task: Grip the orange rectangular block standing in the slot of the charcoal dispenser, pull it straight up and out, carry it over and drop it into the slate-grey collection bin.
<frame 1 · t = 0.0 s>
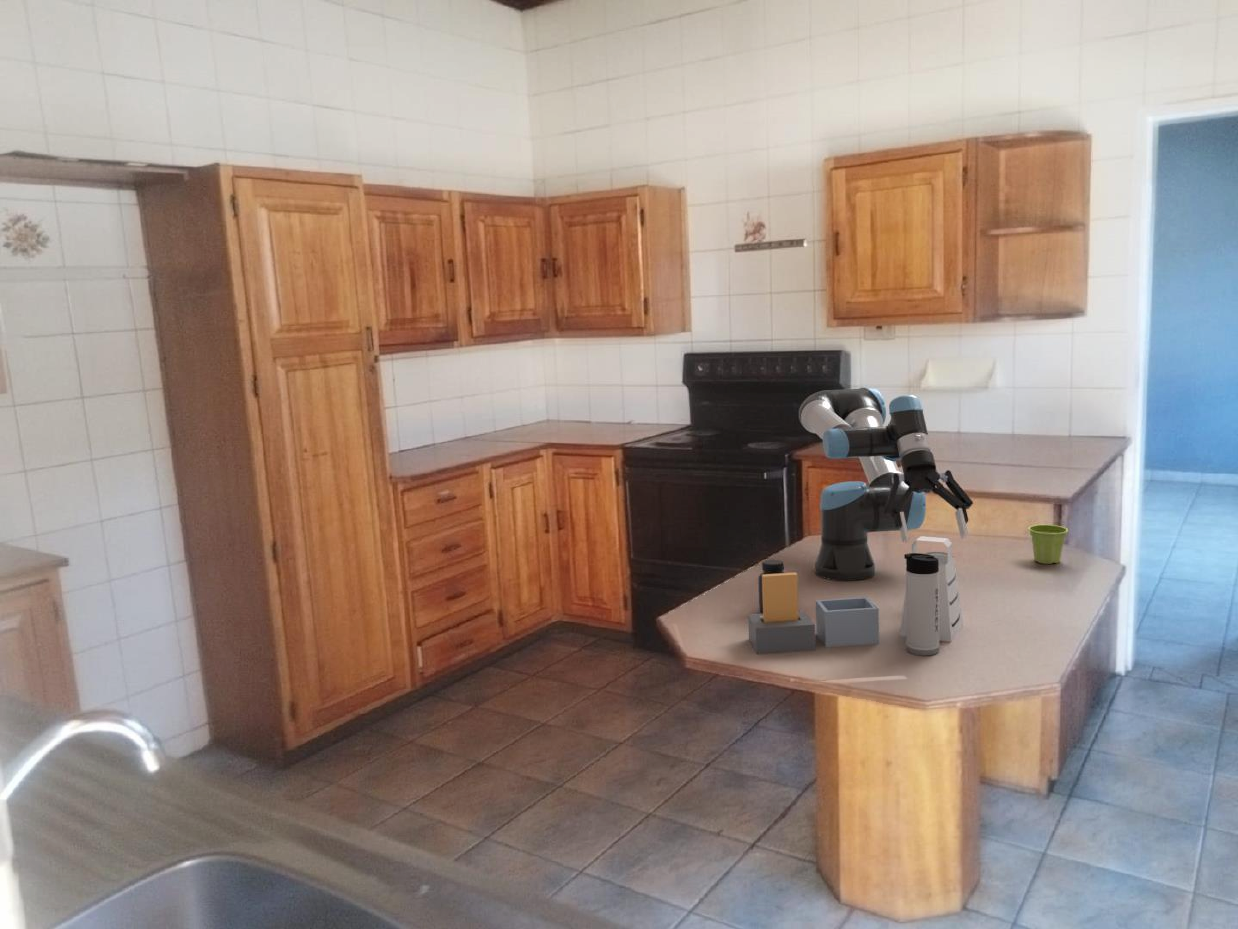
hand: (935, 538, 223), 15 cm above the table, tool tilted 35°, fingers open, 13 cm apart
plant pot: (1047, 562, 254), on the table
orange rectangular block: (781, 644, 202), point 1 cm above the table, touching dispenser
soda can: (937, 606, 223), on the table
travel mug: (921, 651, 196), on the table
grater: (931, 631, 207), on the table
dispenser: (781, 647, 202), on the table
bin: (847, 641, 203), on the table
supplement bottle: (774, 613, 225), on the table
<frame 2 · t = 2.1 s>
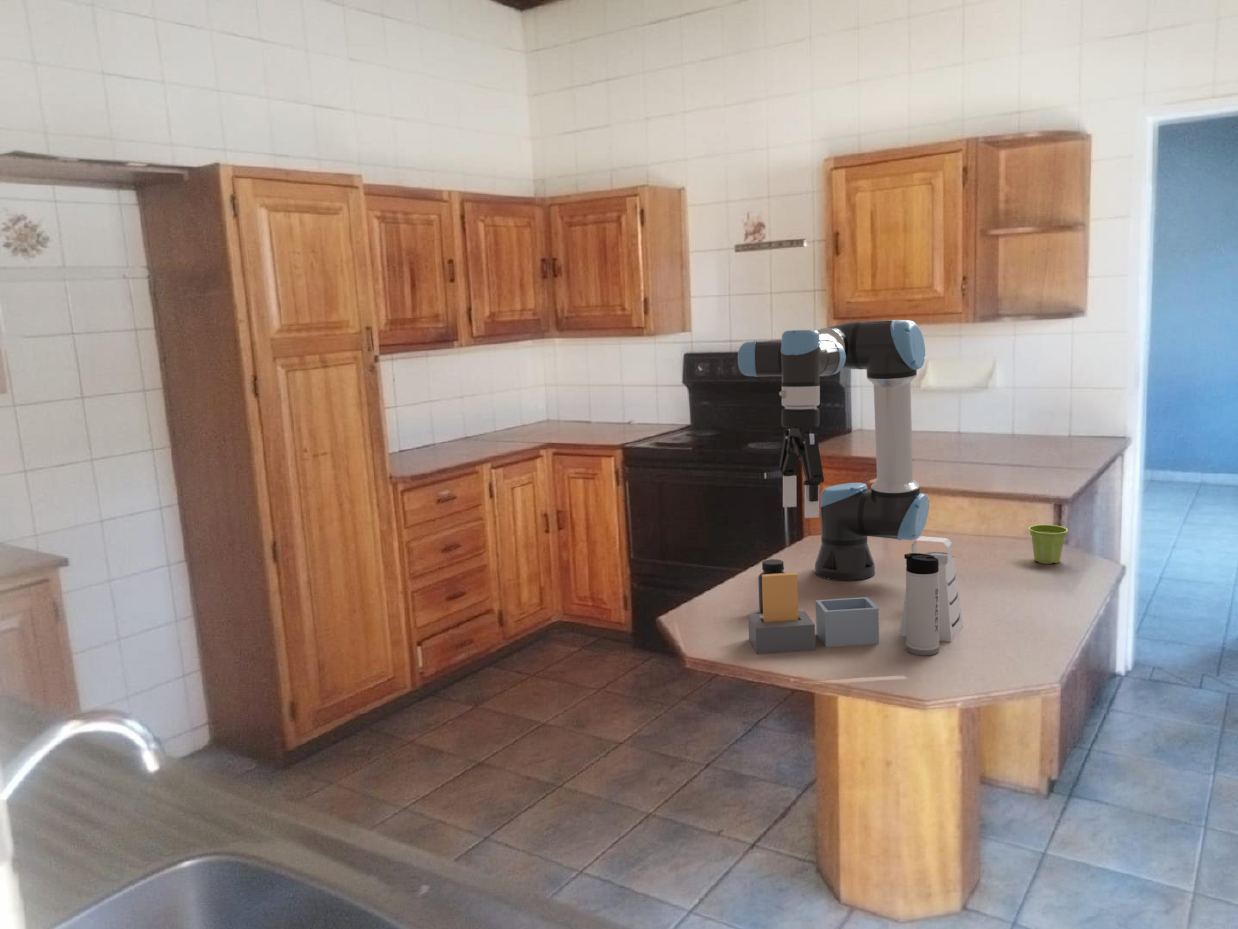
hand: (800, 512, 198), 28 cm above the table, tool pointing down, fingers open, 13 cm apart
nothing on the table moved.
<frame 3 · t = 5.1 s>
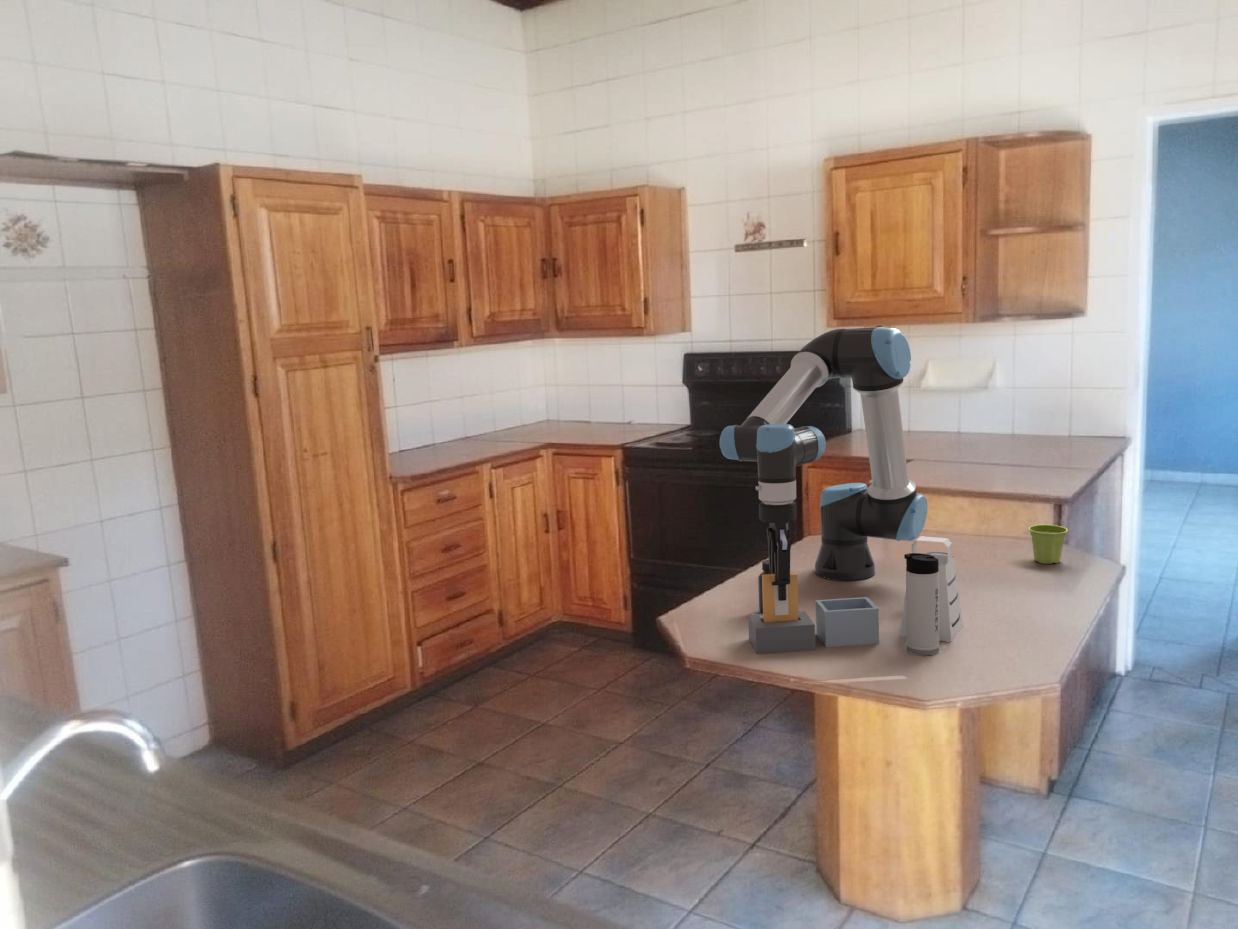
hand: (780, 612, 201), 7 cm above the table, tool pointing down, fingers closed on orange rectangular block, 1 cm apart
orange rectangular block: (781, 644, 202), point 1 cm above the table, touching dispenser, gripper
everything else where it was.
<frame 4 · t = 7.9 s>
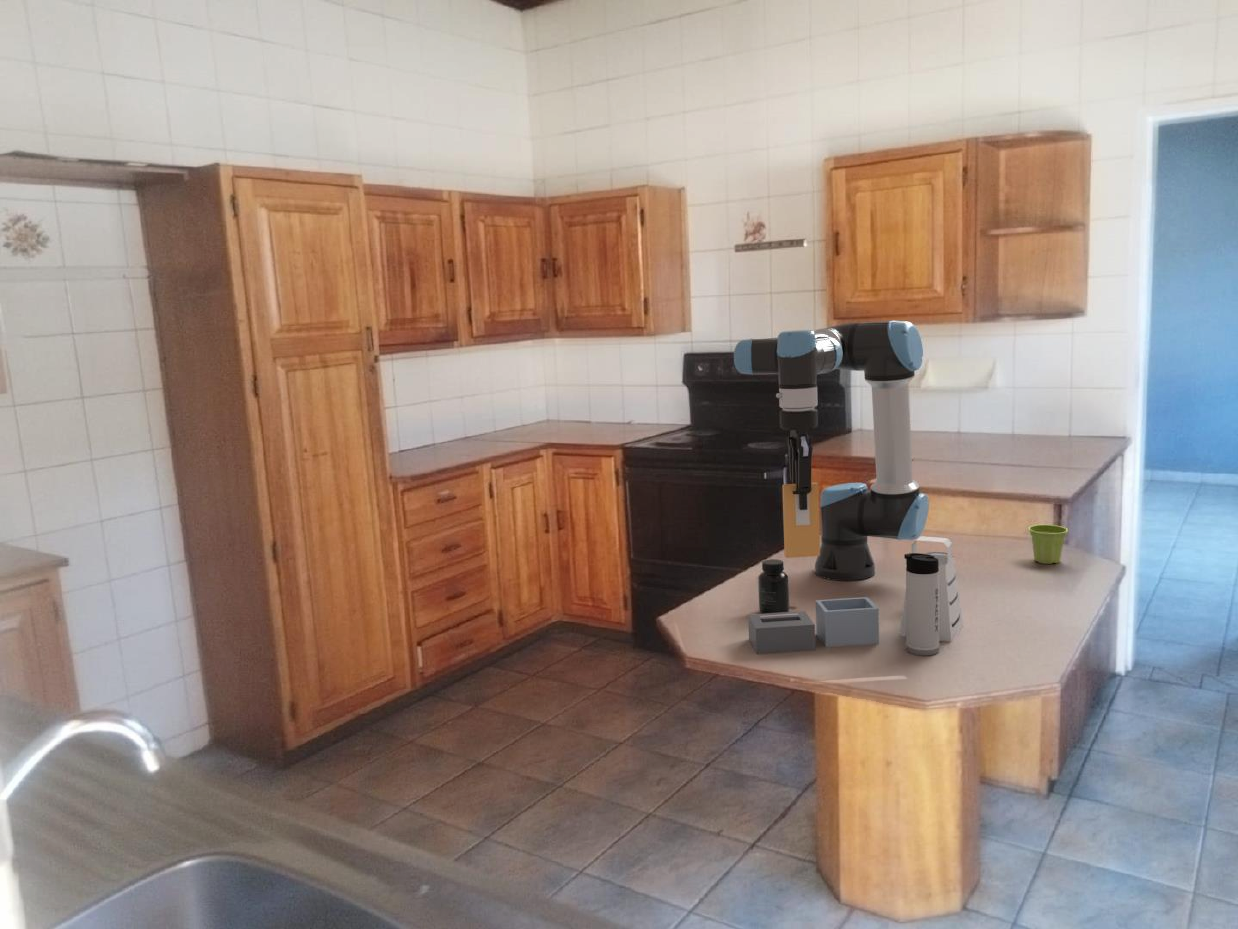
hand: (801, 523, 198), 26 cm above the table, tool pointing down, fingers closed on orange rectangular block, 1 cm apart
orange rectangular block: (802, 555, 200), point 19 cm above the table, touching gripper
everything else where it was.
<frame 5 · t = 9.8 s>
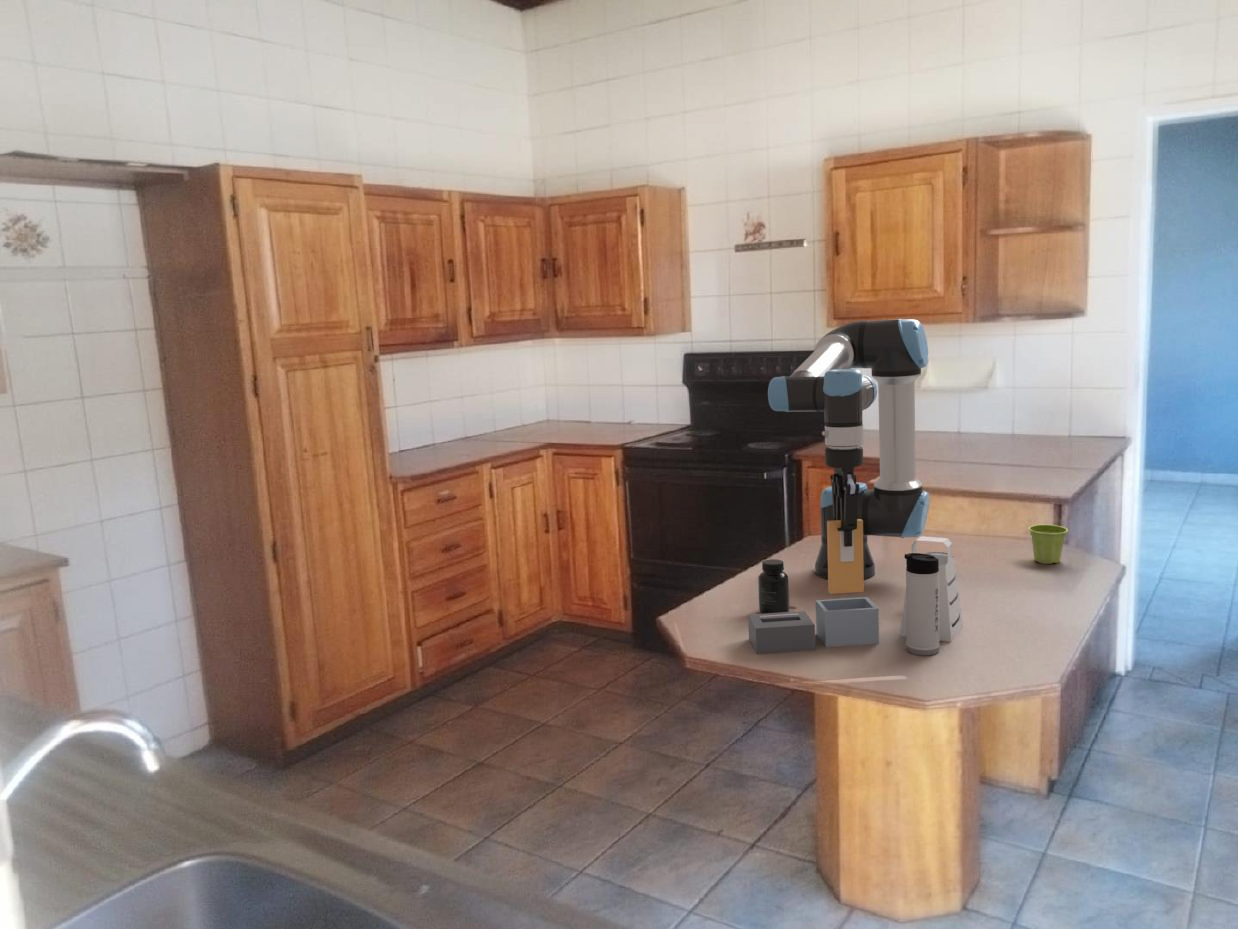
hand: (845, 559, 200), 18 cm above the table, tool pointing down, fingers closed on orange rectangular block, 1 cm apart
orange rectangular block: (846, 591, 201), point 11 cm above the table, touching gripper
everything else where it was.
when the fingers open (10 cm above the table, at t = 11.1 s): orange rectangular block drops 3 cm, resting on bin.
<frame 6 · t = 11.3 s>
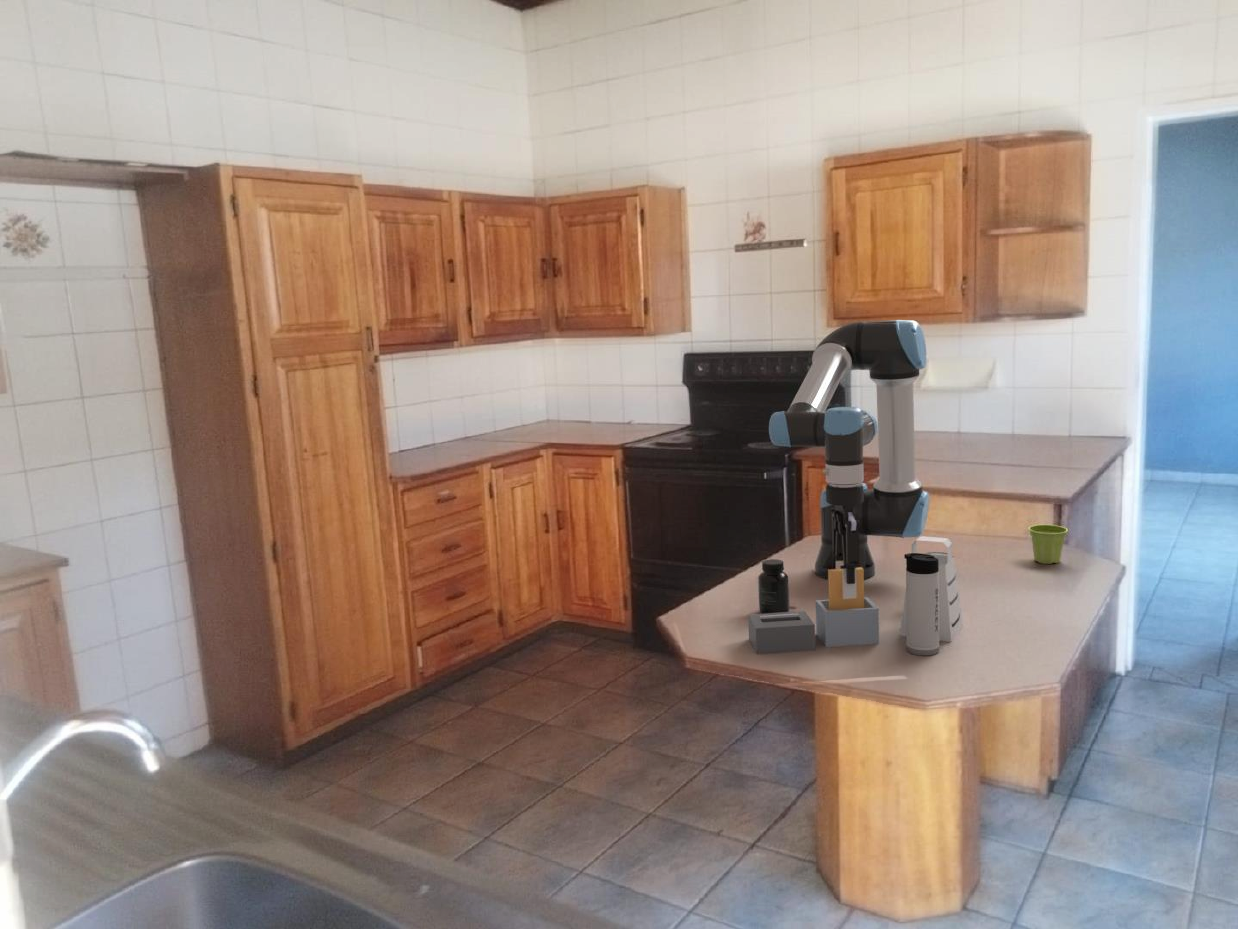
hand: (846, 594, 202), 10 cm above the table, tool pointing down, fingers open, 4 cm apart
orange rectangular block: (847, 639, 203), resting on bin
everything else where it was.
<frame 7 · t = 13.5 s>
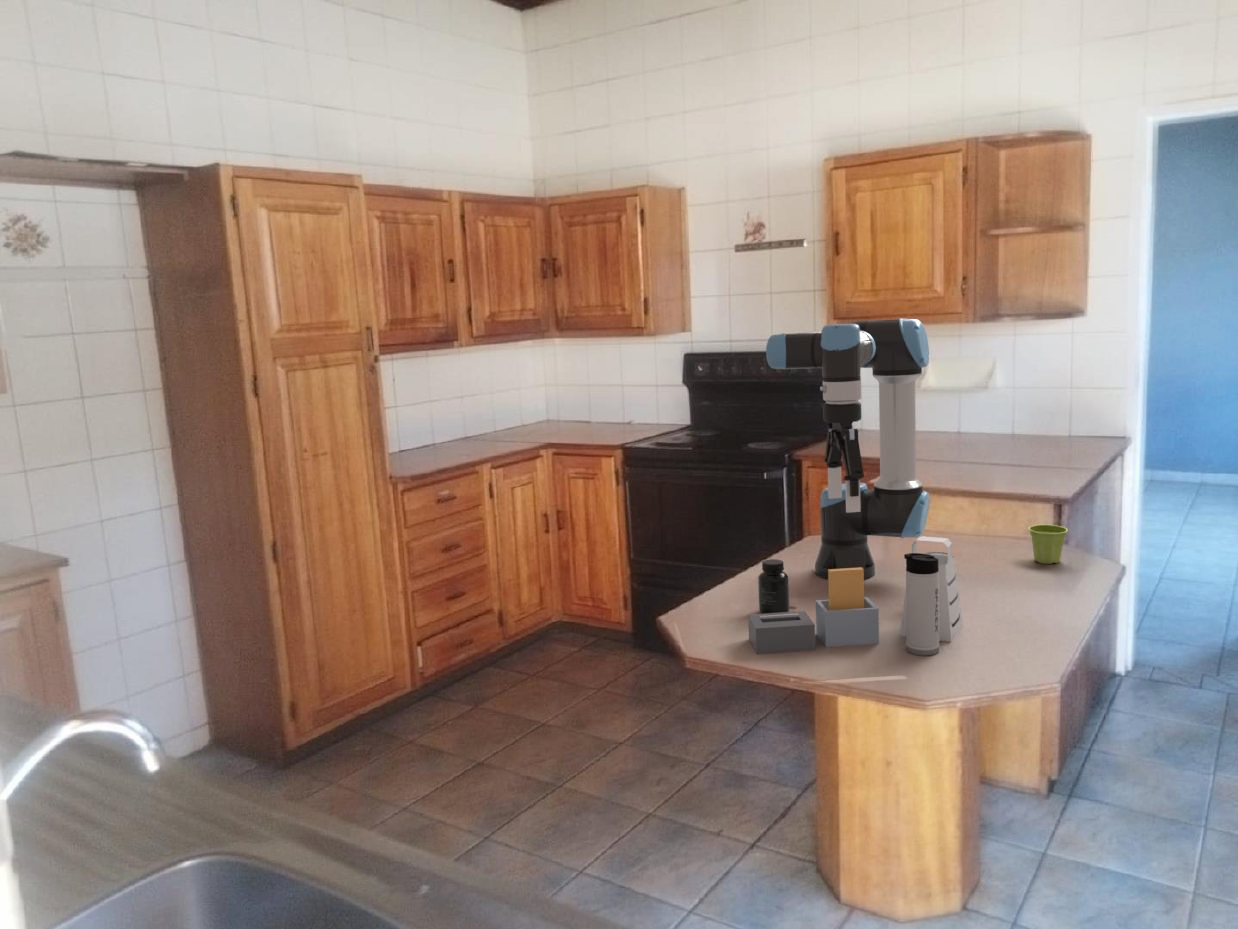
hand: (843, 504, 200), 29 cm above the table, tool pointing down, fingers open, 13 cm apart
nothing on the table moved.
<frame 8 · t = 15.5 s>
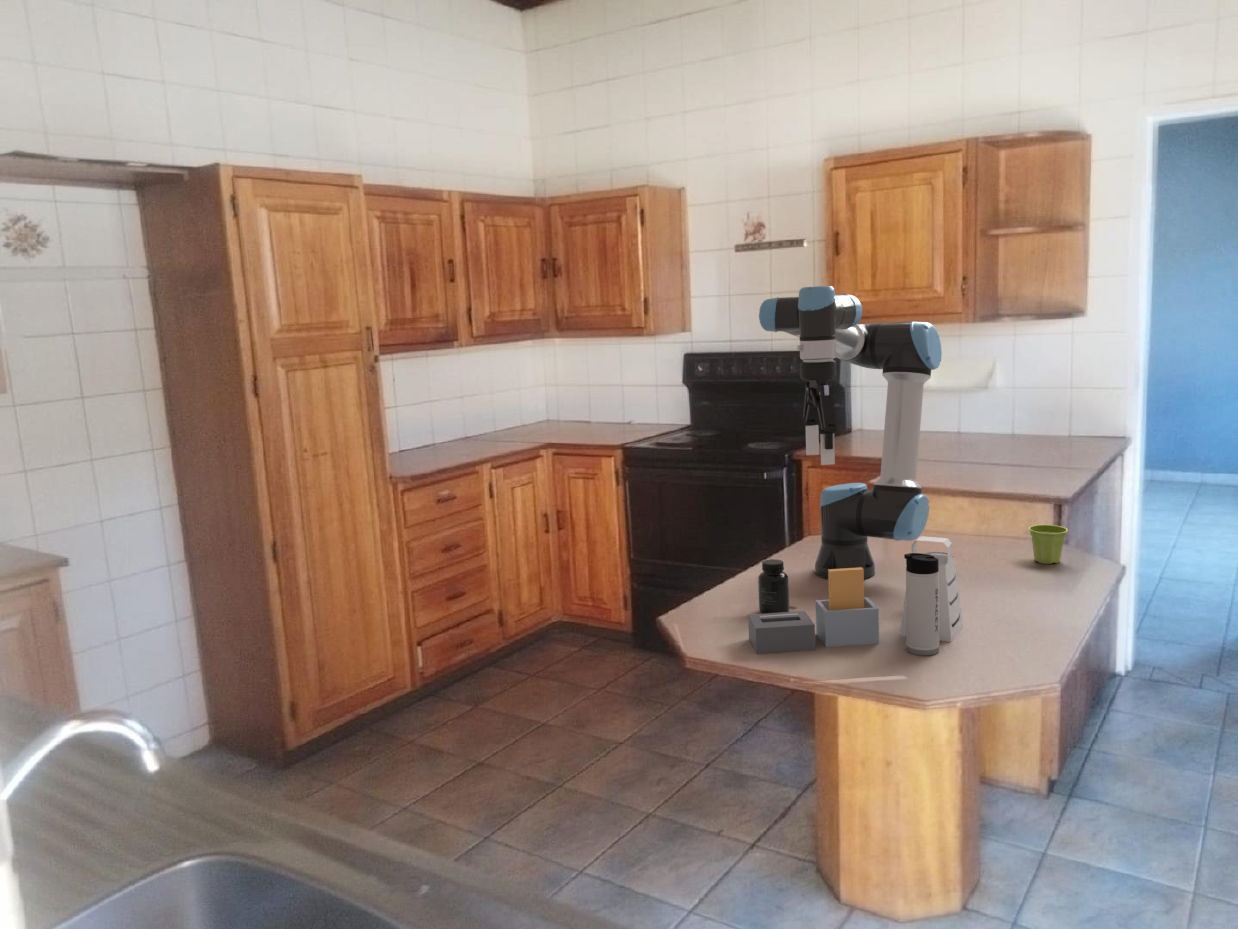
hand: (820, 459, 209), 37 cm above the table, tool pointing down, fingers open, 13 cm apart
nothing on the table moved.
at the end: orange rectangular block inside the target area on the bin (0.0 cm from its centre), point 0.5 cm above the bin's base; the gripper is holding nothing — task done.
